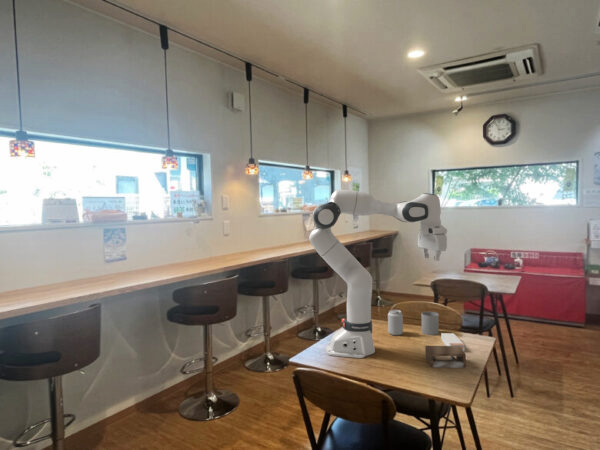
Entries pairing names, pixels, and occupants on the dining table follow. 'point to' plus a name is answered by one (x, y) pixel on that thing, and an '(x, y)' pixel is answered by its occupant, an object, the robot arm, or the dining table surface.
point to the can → (395, 322)
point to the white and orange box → (452, 340)
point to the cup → (430, 323)
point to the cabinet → (445, 351)
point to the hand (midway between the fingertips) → (431, 259)
